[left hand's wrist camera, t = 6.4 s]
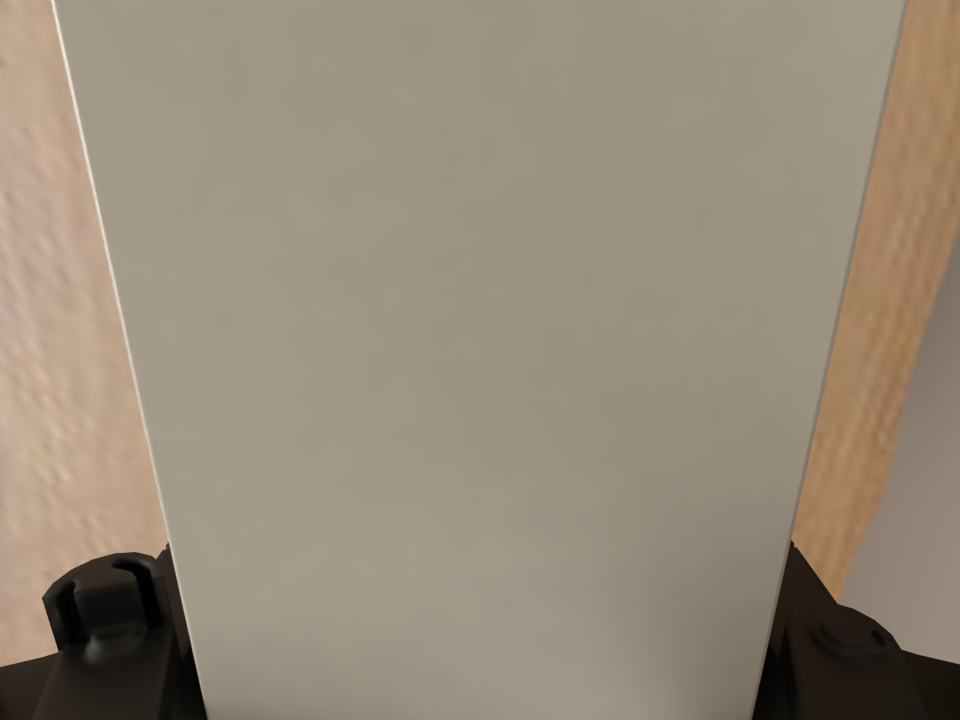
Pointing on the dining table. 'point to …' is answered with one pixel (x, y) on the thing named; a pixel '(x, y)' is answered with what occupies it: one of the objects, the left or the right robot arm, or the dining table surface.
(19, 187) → the dining table surface
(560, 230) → the board
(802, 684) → the left robot arm
